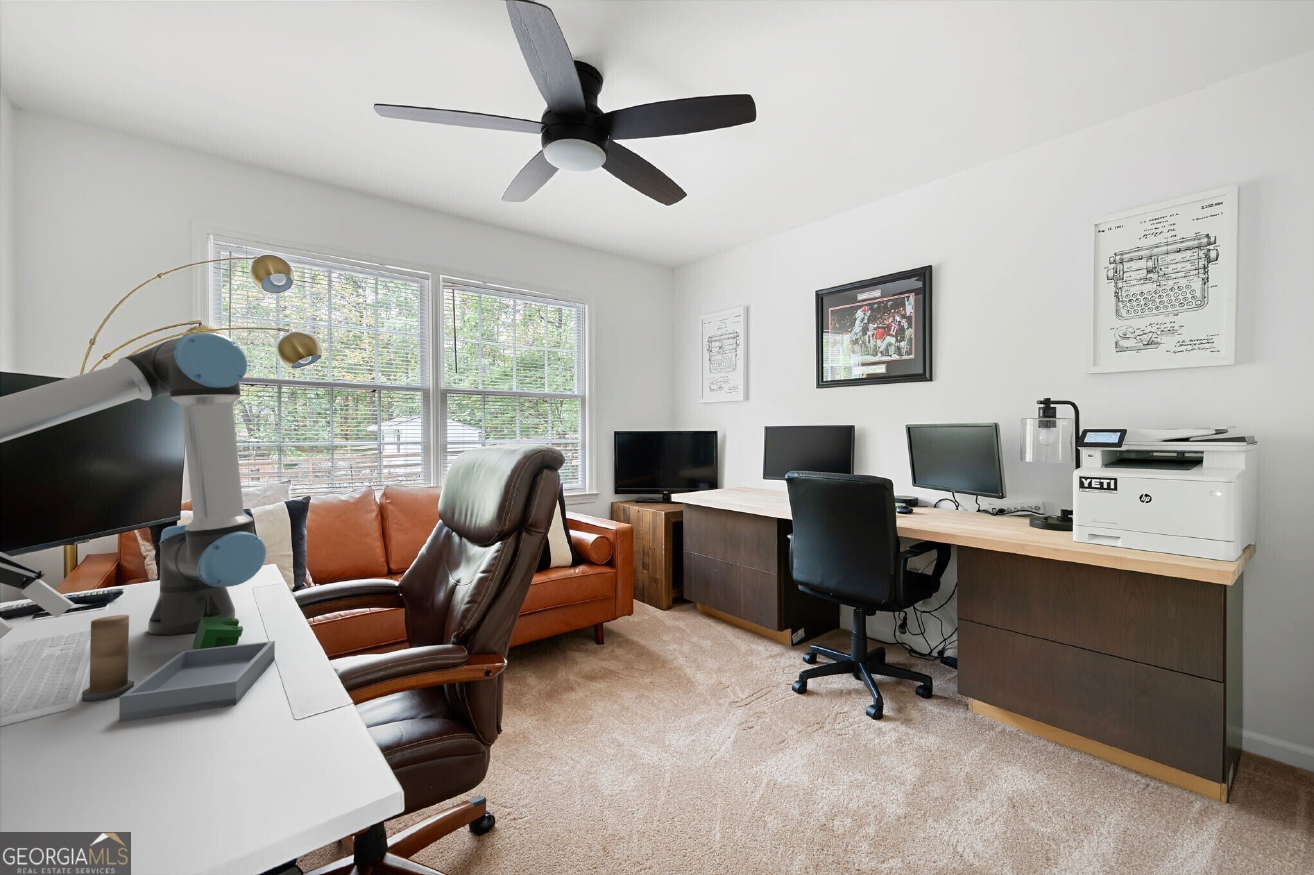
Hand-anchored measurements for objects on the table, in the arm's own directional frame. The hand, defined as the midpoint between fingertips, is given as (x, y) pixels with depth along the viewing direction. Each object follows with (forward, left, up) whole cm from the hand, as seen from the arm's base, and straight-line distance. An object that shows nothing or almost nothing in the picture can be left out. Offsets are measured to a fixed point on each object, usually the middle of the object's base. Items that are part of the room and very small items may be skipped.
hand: (37, 622), depth 85 cm
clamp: (-18, +17, -13) cm, 28 cm away
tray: (+2, +23, -13) cm, 26 cm away
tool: (-1, +9, -13) cm, 15 cm away
